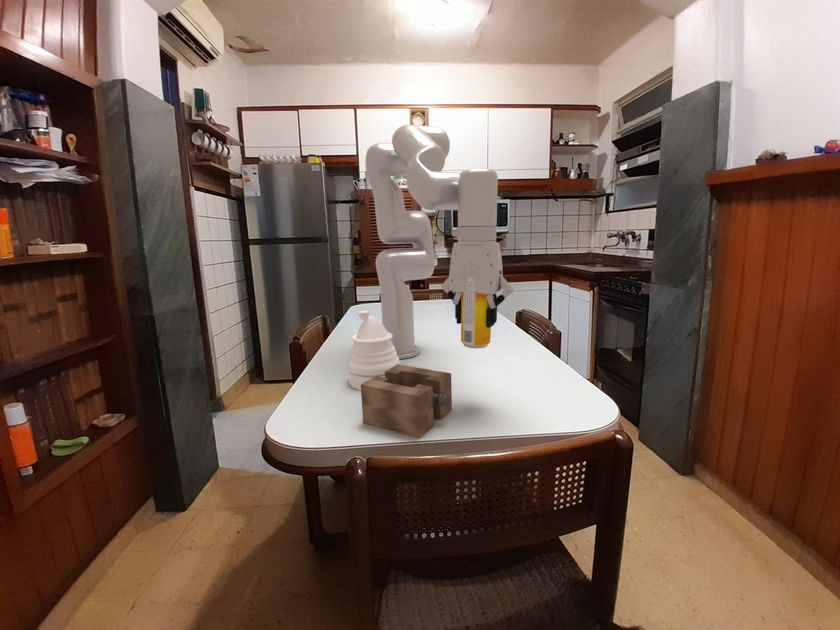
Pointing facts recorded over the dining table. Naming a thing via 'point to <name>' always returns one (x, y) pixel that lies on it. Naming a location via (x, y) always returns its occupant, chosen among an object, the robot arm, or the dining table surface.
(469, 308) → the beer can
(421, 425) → the brown wooden clamp block
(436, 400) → the plunger
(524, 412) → the dining table surface
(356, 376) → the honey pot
